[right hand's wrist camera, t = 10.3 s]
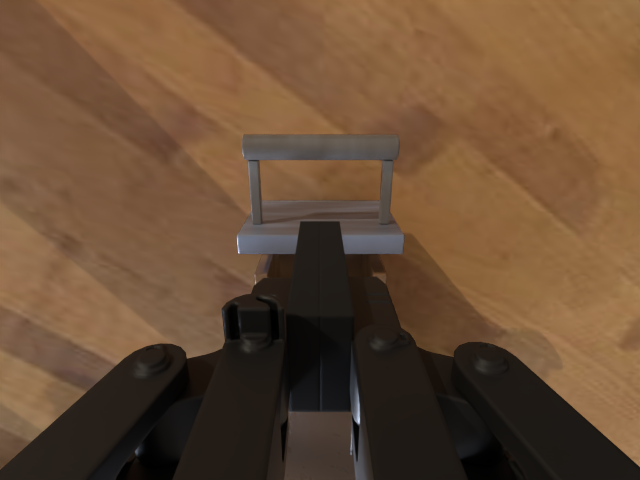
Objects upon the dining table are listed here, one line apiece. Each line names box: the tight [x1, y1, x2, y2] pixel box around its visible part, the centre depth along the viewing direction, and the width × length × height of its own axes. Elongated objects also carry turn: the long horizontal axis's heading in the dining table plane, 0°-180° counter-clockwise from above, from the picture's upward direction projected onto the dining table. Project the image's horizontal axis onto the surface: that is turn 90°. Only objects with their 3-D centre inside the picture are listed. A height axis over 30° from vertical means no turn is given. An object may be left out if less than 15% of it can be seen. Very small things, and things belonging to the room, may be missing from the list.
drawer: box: [237, 134, 405, 284], centre depth 27 cm, size 21×10×8 cm, turn 0°
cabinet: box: [284, 408, 356, 480], centre depth 31 cm, size 17×11×10 cm, turn 0°
